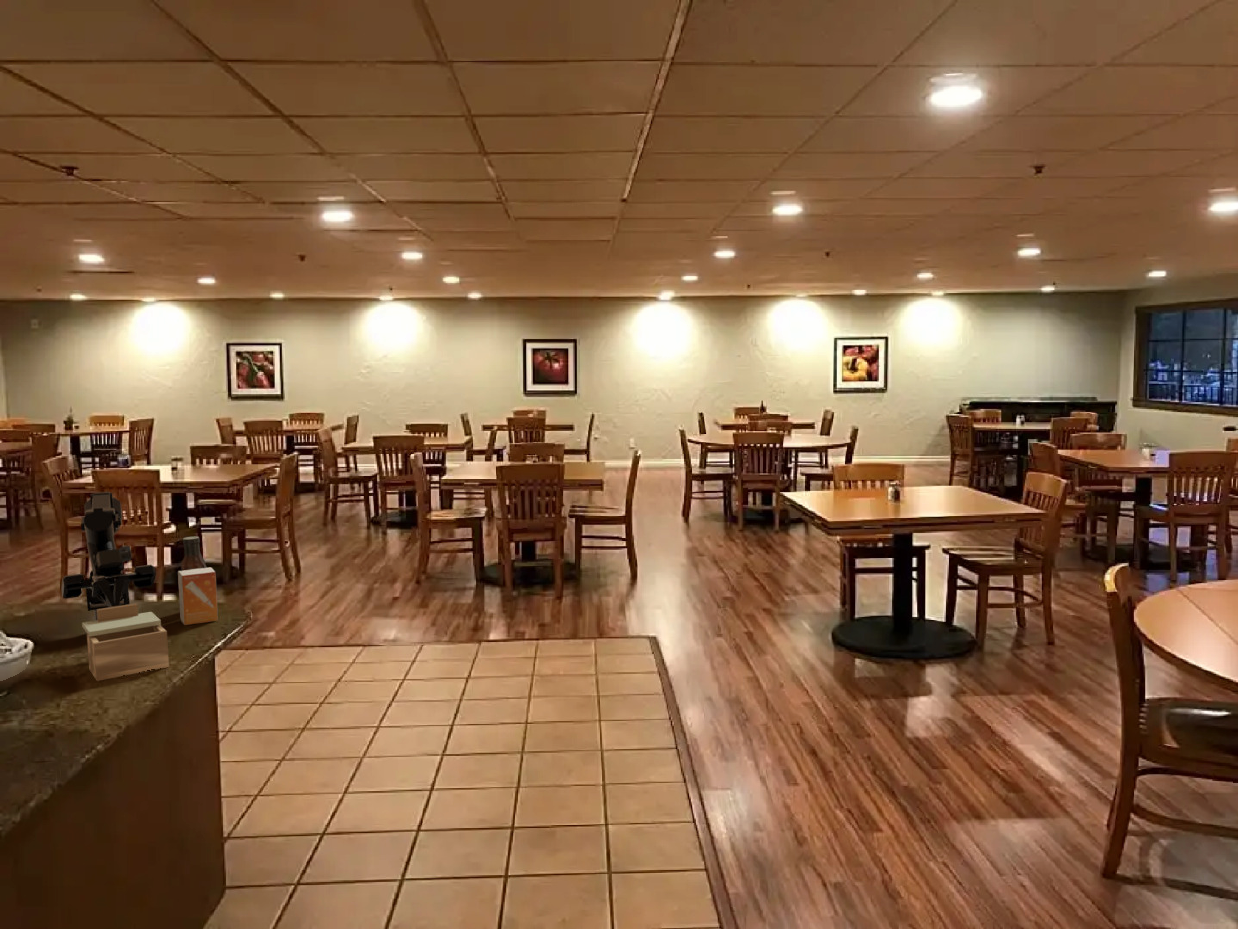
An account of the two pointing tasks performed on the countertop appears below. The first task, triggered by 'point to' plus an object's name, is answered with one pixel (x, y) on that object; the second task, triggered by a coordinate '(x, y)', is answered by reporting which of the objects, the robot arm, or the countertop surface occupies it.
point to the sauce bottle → (192, 554)
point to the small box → (197, 595)
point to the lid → (119, 620)
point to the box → (127, 652)
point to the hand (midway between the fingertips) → (116, 612)
